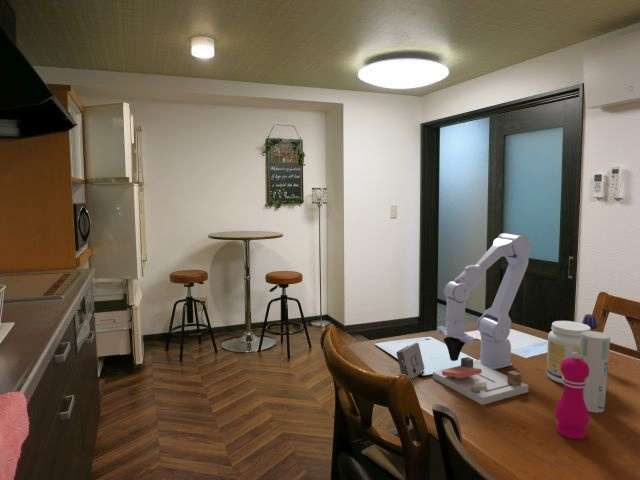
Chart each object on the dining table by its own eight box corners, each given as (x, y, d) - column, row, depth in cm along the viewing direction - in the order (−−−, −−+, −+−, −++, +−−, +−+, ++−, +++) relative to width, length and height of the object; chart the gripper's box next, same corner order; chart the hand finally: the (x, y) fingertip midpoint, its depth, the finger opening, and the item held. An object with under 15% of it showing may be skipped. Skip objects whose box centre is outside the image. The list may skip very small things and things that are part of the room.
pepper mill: (547, 425, 114) (552, 347, 111) (575, 424, 114) (580, 346, 112) (565, 441, 106) (570, 358, 104) (595, 440, 107) (600, 357, 105)
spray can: (604, 415, 119) (610, 340, 117) (576, 409, 122) (580, 335, 120) (605, 405, 124) (610, 333, 122) (577, 399, 128) (582, 329, 126)
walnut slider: (512, 381, 135) (513, 370, 135) (521, 384, 132) (521, 373, 132) (507, 382, 134) (507, 372, 134) (515, 386, 131) (515, 375, 131)
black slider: (467, 366, 146) (467, 356, 146) (473, 369, 144) (473, 359, 143) (460, 368, 145) (461, 358, 144) (466, 370, 143) (466, 360, 142)
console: (475, 368, 150) (476, 351, 150) (528, 391, 133) (529, 373, 132) (432, 378, 142) (433, 360, 142) (482, 405, 124) (483, 384, 124)
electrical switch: (411, 380, 141) (409, 350, 140) (396, 377, 144) (394, 348, 143) (425, 371, 148) (423, 342, 147) (410, 368, 151) (408, 341, 151)
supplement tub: (588, 374, 145) (592, 322, 143) (593, 390, 134) (596, 333, 132) (545, 368, 150) (548, 317, 148) (546, 382, 139) (549, 328, 137)
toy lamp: (594, 367, 151) (597, 317, 149) (577, 364, 154) (581, 315, 152) (595, 363, 155) (599, 314, 153) (580, 360, 157) (583, 312, 156)
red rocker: (462, 370, 142) (461, 366, 142) (481, 373, 135) (481, 368, 135) (442, 375, 138) (441, 371, 138) (461, 378, 131) (460, 373, 131)
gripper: (430, 315, 152) (429, 354, 154) (462, 326, 139) (460, 369, 141) (447, 312, 155) (445, 351, 157) (479, 323, 143) (477, 365, 144)
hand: (454, 360), depth 149 cm, fingers closed
